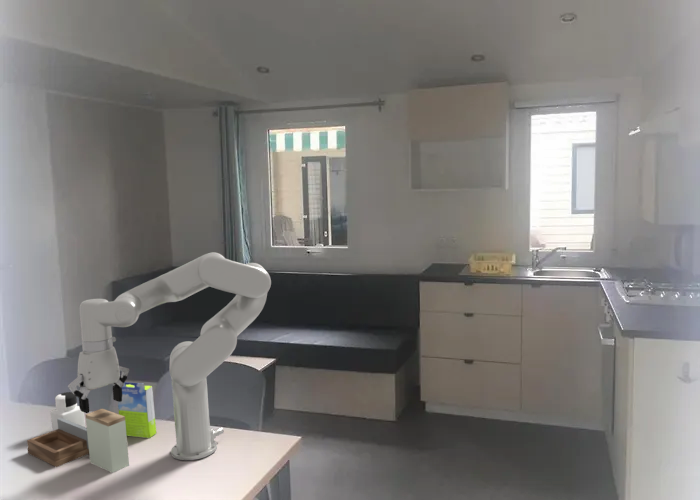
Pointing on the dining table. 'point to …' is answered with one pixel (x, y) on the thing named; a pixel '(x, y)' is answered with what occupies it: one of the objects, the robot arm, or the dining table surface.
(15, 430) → the dining table surface
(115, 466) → the tall rectangular pillar
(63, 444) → the slot rack
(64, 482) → the dining table surface
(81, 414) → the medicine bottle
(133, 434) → the box
